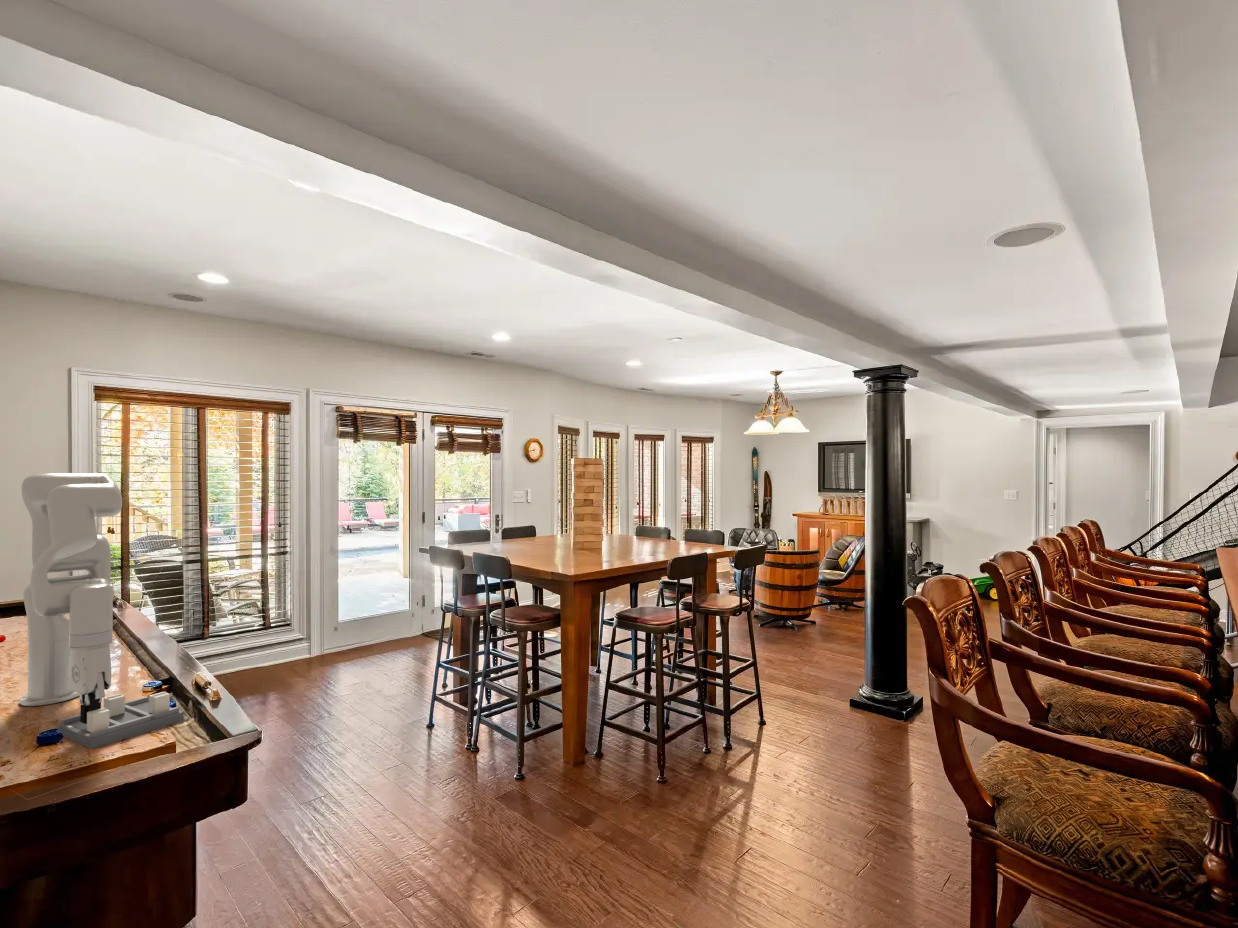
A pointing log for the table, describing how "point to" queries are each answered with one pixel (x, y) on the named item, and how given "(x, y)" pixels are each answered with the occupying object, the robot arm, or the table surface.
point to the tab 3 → (159, 702)
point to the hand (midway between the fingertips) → (90, 720)
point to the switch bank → (120, 724)
